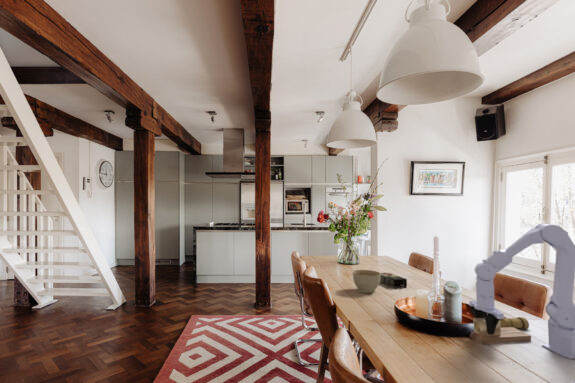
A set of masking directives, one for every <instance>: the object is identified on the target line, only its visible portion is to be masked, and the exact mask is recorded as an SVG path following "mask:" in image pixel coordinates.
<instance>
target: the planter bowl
mask: <svg viewBox="0 0 575 383" xmlns="http://www.w3.org/2000/svg"><path fill="white" fill-rule="evenodd" d="M381 273H382V272H379V271H376V270H370V269H357V270H353V271H352V278H353V283H354V284H355V286H356V288H357V290H358V292H360V293H362V294H363V293H364V294H374V293H375V291H376V290H377V288H378V287H379V285H380V276H381ZM373 292H374V293H373Z"/></svg>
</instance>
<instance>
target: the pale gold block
mask: <svg viewBox="0 0 575 383" xmlns="http://www.w3.org/2000/svg"><path fill="white" fill-rule="evenodd" d="M472 321H473V324H474V332H475V333H477V334H479V335H480V336H490V335H501V326H500V321H499V322H498V324H497V326H496V329H495V332H494V334H488V332H487V325H486V321H485V318H475V317H473V319H472ZM473 324H472V325H473Z"/></svg>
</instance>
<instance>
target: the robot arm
mask: <svg viewBox="0 0 575 383" xmlns="http://www.w3.org/2000/svg"><path fill="white" fill-rule="evenodd" d="M544 243H547V244H548V245H549V246H550V247H552V248H553V249H554V250H555V251H556V252H555V263H554V264H555V265H554V275H553V276H554V277H553V287H552V295H550V297H549V302H548V303H547V305H546V306H545V312H546V314H547V315H548V316H549V318H548V319H547V329H548V330H547V331H548V332H547V333H548V334H547V335H548V343H545V344H543V343H542V344H541V346H542V347H544V348H545V349H548V350H550V351H551V352H554V353H555V354H559V355H560V356H563V357H564V358H566V359H575V302H574V300H573V295H574V284H575V243H574V242H573V240H572V239H571V237H570V235H569V232H568V231H567V230H565V229H564V228H562V226H560V225H557V224H549V223H545V222H544V223H543V222H542V223H539V224H537V225H536V226H535V227H533V228H531V229H529V230H527V231H526V232H525V233H524V234H523V235H521V237H519V238H518V239H517V240H516V241H515V242H513V243H511V245H509V246H508V247H507V248H506V249H498V250H497V251H496V250H494V251H492V252H491V253H492V254H491V255H490V256H489V257H487V258H486V259H482V262H479V263H477V264H476V265H475V267H474V272H475V274H476V278H475V280H476V281H475V289H476V290H475V292H476V300H469V306H470V307H474V308H471V312H472V314H473V316H474V318H485V321H486V325H487V332H488V334H494V332H495V329H496V326H497V324H498V322H499V321H500V319H504V317H505V315H504V312H501V311H500V310H499V309H497V308H496V307H495V285H494V279H495V277H496V274H497V273H499V272H500V271H502V270H503V269H505V268H506V267H508V266H509V265H511V263H513V259H514V258H513V257H515V256H516V255H518V254H519V253H521V252H522V251H524V250H525V249H527V248H529V247H531V246H532V245H535V244H537V245H538V244H544ZM487 313H488V314H489V315H487Z"/></svg>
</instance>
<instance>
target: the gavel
mask: <svg viewBox="0 0 575 383" xmlns="http://www.w3.org/2000/svg"><path fill="white" fill-rule="evenodd" d="M487 314H488V313H487ZM488 315H489V314H488ZM500 326H501V328H505V327H513V328H516V329H518V330H520V329H523V330H528V329H529V328H530V324H529V320H527V318H525V317H524V316H520V317H519V316H518V317H515V318H513V317H512V318H508V317H506V316H504V319H500Z"/></svg>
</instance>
